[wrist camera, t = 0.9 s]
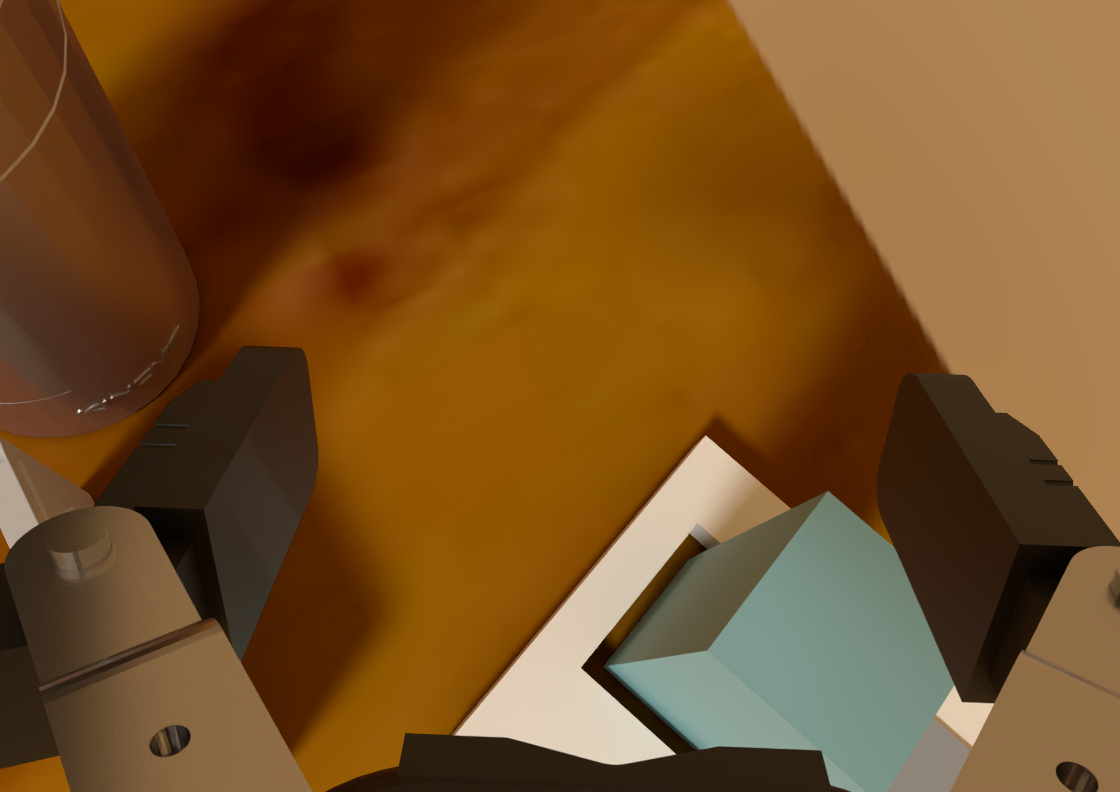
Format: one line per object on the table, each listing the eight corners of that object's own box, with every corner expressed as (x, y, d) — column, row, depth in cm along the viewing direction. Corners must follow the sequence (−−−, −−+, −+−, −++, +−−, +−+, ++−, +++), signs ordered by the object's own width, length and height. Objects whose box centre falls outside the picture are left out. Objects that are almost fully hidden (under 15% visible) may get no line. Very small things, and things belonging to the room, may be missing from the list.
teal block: (603, 666, 32) (707, 650, 21) (688, 558, 34) (827, 490, 23) (712, 765, 32) (879, 803, 21) (794, 652, 34) (989, 629, 22)
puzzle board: (441, 746, 31) (443, 749, 29) (693, 445, 35) (707, 434, 34) (915, 1188, 29) (945, 1216, 27) (1116, 811, 34) (1151, 817, 32)
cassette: (264, 808, 30) (218, 844, 22) (208, 843, 29) (142, 892, 22) (104, 485, 32) (15, 423, 25) (49, 512, 31) (-58, 456, 24)
